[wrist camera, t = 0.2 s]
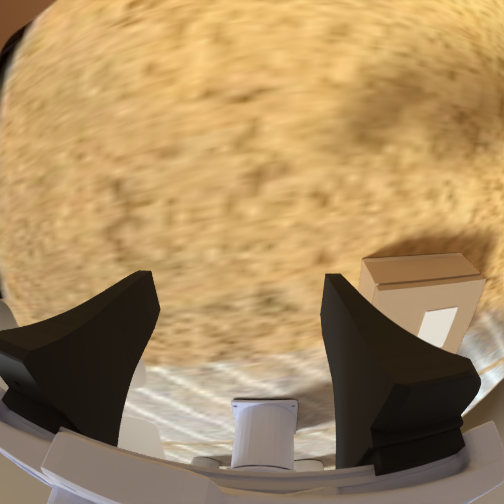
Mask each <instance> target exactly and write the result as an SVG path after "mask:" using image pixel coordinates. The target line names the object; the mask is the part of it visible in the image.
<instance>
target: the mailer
mask: <svg viewBox="0 0 504 504" xmlns="http://www.w3.org/2000/svg"><path fill="white" fill-rule="evenodd" d="M480 274H481V273H480V272H479V271H478V270H477V269H476V268H475V267H474V266H473V265H472V264H471V263H470V262H469V261H468V260H467V259H466V258H465V257H464V256H463V255H462V254H461V253H448V254H433V255H416V256H400V257H383V258H365V259H362V266H361V275H360V283H359V291H358V292H359V293H360V294H361V295H362V296H363V297H365V298H366V299H367V300H368V301H369V302H370V303H371V304H372V305H373V302H374V297H375V291H376V286H382V285H394V284H405V283H416V282H426V281H436V280H445V279H454V278H463V277H471V276H479V275H480Z"/></svg>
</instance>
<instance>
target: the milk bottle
mask: <svg viewBox="0 0 504 504" xmlns="http://www.w3.org/2000/svg"><path fill="white" fill-rule="evenodd" d="M294 470H296V472H309V471H324V465H323V463H322V462H320V461H317V460H299V461H294Z"/></svg>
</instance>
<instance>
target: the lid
mask: <svg viewBox="0 0 504 504" xmlns="http://www.w3.org/2000/svg"><path fill="white" fill-rule="evenodd" d="M485 281H486V278H485V277H484V276H483V275H479V276H471V277H463V278H454V279H445V280H436V281H426V282H416V283H405V284H394V285H382V286H376V291H375V297H374V302H373V306H374V307H376V308H377V309H378V310H379V311H380V312H382V313H383V314H384V315H385V316H387V317H388V318H389V319H390V320H392V321H393V322H395V323H396V324H398V325H399V326H400V327H402V328H403V329H405V330H407V331H408V332H410V333H412V334H413V335H415V336H417V337H419V338H420V339H422V340H424V341H426V342H428V343H430V344H432V345H434V346H436V347H439V348H441V349H443V350H445V351H448V352H451V353H454V354H456V353H457V351H458V349H459V346H460V344H461V342H462V340H463V338H464V336H465V333H466V331H467V329H468V327H469V324H470V322H471V319H472V317H473V315H474V312H475V309H476V307H477V304H478V302H479V299H480V296H481V293H482V290H483V287H484V284H485Z"/></svg>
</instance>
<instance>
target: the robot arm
mask: <svg viewBox="0 0 504 504" xmlns="http://www.w3.org/2000/svg"><path fill="white" fill-rule="evenodd" d="M159 313H160V305H159V301H158V297H157V293H156V289H155V285H154V281H153V277H152V272H151V271H140V270H139V271H137V272H135V273H133V274H131V275H129V276H127V277H126V278H124V279H122V280H121V281H119V282H118V283H116V284H114V285H113V286H111V287H110V288H108V289H106V290H105V291H103V292H101V293H100V294H98V295H96V296H95V297H93V298H91V299H90V300H88V301H86V302H84V303H83V304H81V305H79V306H77V307H75V308H73V309H71V310H69V311H66V312H64V313H62V314H59V315H57V316H54V317H52V318H49V319H47V320H44V321H41V322H38V323H34V324H31V325H27V326H23V327H19V328H14V329H8V330H2V331H0V376H1V378H2V379H3V380H4V382H5V383H6V384H7V385H8V387H9V389H8V390H7V392H5V391H4V390H3V389H2V388H1V387H0V453H2V454H3V455H4V456H6V457H7V458H8V459H10V460H11V461H12V462H14V463H15V464H17V465H18V466H19V467H21V468H22V469H24V470H25V471H27V472H28V473H29V474H31V475H32V476H34V477H36V478H37V479H39V480H40V481H42V482H43V483H45V484H47V485H48V486H50V487H52V488H53V489H52V491H51V494H50V497H49V499H48V502H47V504H468V503H470V502H472V501H474V500H475V499H477V498H479V497H481V496H483V495H485V494H486V493H488V492H490V491H491V490H493V489H494V488H496V487H498V486H499V485H501V484H502V483H504V448H503V444H502V442H501V439H500V436H499V434H498V431H497V429H496V426H495V424H494V421H490V422H487V423H485V424H483V425H480V426H478V427H475V428H473V429H471V430H468V431H467V432H465V433H464V434H462V433H461V430H460V427H461V426H462V425H463V420H462V417H461V414H462V413H463V412H464V411H465V409H466V408H467V407H468V406H469V404H470V403H471V402H472V401H473V399H474V398H475V396H476V395H477V393H478V391H479V389H480V386H481V379H480V377H479V375H478V373H477V371H476V369H475V367H474V366H473V364H472V362H471V360H470V359H468V358H465V357H462V356H459V355H457V354H454V353H451V352H448V351H445V350H443V349H441V348H439V347H436V346H434V345H432V344H430V343H428V342H426V341H424V340H422V339H420V338H419V337H417V336H415V335H413V334H412V333H410V332H408V331H407V330H405V329H403V328H402V327H400V326H399V325H398V324H396V323H395V322H393V321H392V320H390V319H389V318H388V317H387V316H385V315H384V314H383V313H382V312H380V311H379V310H378V309H377V308H376V307H374V306H373V305H372V304H371V303H370V302H369V301H368V300H367V299H366V298H365V297H363V296H362V295H361V294H360V293H359V292H358V291H357V290H356V289H355V288H354V287H353V286H352V285H351V284H350V283H349V282H348V281H347V280H346V279H345V278H344V277H343V276H342V275H341V274H325V282H324V290H323V298H322V306H321V313H320V316H321V327H322V336H323V340H324V345H325V349H326V354H327V358H328V363H329V367H330V372H331V377H332V382H333V390H334V402H335V420H336V470H325V471H309V472H296V470H294V434H296V423H297V407H298V401H297V400H232V401H231V406H232V410H233V413H234V417H235V420H236V431H235V438H234V446H233V453H232V460H231V468H227V469H217V468H209V467H202V466H195V465H189V464H183V463H178V462H173V461H168V460H163V459H159V458H154V457H150V456H146V455H142V454H138V453H135V452H131V451H128V450H124V449H121V448H118V447H117V445H118V437H119V429H120V423H121V418H122V413H123V409H124V405H125V401H126V397H127V393H128V390H129V386H130V383H131V380H132V377H133V374H134V371H135V368H136V366H137V364H138V362H139V360H140V358H141V356H142V354H143V352H144V349H145V347H146V345H147V343H148V341H149V339H150V337H151V335H152V333H153V331H154V328H155V325H156V322H157V319H158V316H159Z"/></svg>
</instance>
